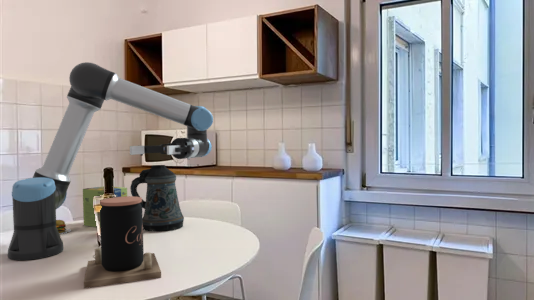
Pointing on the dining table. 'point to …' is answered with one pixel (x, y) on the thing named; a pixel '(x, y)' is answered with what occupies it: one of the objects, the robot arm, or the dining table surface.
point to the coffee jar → (121, 233)
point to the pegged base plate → (103, 277)
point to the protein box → (88, 202)
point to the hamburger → (61, 226)
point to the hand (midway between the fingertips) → (149, 150)
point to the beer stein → (159, 199)
